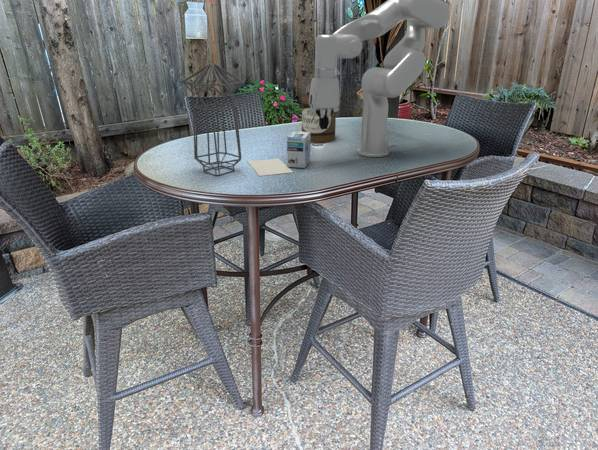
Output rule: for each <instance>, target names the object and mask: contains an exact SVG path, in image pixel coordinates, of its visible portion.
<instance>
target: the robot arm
mask: <svg viewBox="0 0 598 450" xmlns="http://www.w3.org/2000/svg"><path fill="white" fill-rule="evenodd" d="M450 16H451V10H450V7H449V5H448V3H446V1H443V0H386V1H384V2H383V3H382V4H380V5H378V7H376V8H374V9H373V10H372V11H370V12H369V13H367V14H364V15H363V16H360V17H358V18H357V19H355V20H353V21H351V22H348V23H346V24H345V25H343V26H342V27H340V28H339V29H337V30H335V31H334V32H333V33H332V34H318V35H316V38H315V45H314V46H315V51H314V52H315V53H314V77H313V78H311V82H310V88H309V95H308V96H309V106H310V112H313V113H316V114H317V115H318V116H319V126H320V128H321V129H327V126H328V124H329V117H330V115H331V114H332V113H333V112H335V113H336V112H339V111H340V109H339V107H340V103H341V100H340V99H341V97H340V95H341V94H340V81H339V78H338V75H339V76H340V75H341V70H339V69H338V59H339V58H341V59H354V58H356V57H358V56H359V55H360V54H361V52H362V51H363V41H368V40H371V39H377V38H378V37H381V36H383V35H385V34H386V33H387V32H389V31H390V30H391V29H393V28H394V27H396V26H397V25H398V24H399V23H401V22H402V21H405V20H406V31H405V34H404V36H403V37H402V39H400V40H399V41H398V43H397V44H396V45H395V46H394V47H393V48H392V49H390V51H389V52H388V53H387V54H386V56H385V57H384V59H383V64H382V65H383V66H382V67H372V68H368V69H367V70H366V71H365V72H364V73H363V75H362V77H361V93H362V116H361V133H360V136H361V137H360V147H358V148H357V149H356V155H359V156H362V157H366V158H367V157H368V158H380V157H386V156H388V155H389V154H390V150H389V149H390V148H397V145H398V144H397V142H396V141H395V142H390V141H387V129H388V128H387V127H388V120H389V119H388V117H389V100H388V98H390V99H393V98H398V97H399V96H401V95H402V94H403V93H404V92H405V91H406V90H408V88H409V87H410V86H411V85H412V84H413V83H414V82H415V81H416V80H417V79H418V78H419V76H420V75H421V74H422V73H423V71H424V69H425V66H426V54H425V52H423V50H424V48H425V45H426V29H428V30H430V29H437V30H438V29H441V28H443V27H444V26H446V25H447V23H448V22H449V21H450ZM323 109H325V113H324V111H323Z"/></svg>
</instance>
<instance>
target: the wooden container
mask: <svg viewBox="0 0 598 450" xmlns="http://www.w3.org/2000/svg"><path fill="white" fill-rule="evenodd" d="M323 111H324V113H325V109H323ZM336 123H337V122H336V112H333V113H332V114H331V115H330V117H329V124H328V126H327V129H321V128H320V126H319V116H318V115H317V114H316V113H313V112H310V106H309V95H304V96H301V132H311V141H310V143H314V144H321V143H322V144H323V143H331V142H333V141H335V140H336Z"/></svg>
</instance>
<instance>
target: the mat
mask: <svg viewBox="0 0 598 450" xmlns="http://www.w3.org/2000/svg"><path fill="white" fill-rule="evenodd" d="M247 164H248V165H249V166H250V167H251V169H253V171H254V172H255V173H256V174H257V175H258V176H259V177H265V176H274V175H275V176H276V175H282V174H283V175H284V174H293V173H294V170H292V169H291V167H287V164H285V163H284V162H283V161H282V160H281V159H280V158H270V159H257V160H249V161H247Z"/></svg>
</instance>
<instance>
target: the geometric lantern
mask: <svg viewBox="0 0 598 450" xmlns="http://www.w3.org/2000/svg"><path fill="white" fill-rule="evenodd" d="M210 74H211V75H210ZM197 75H198V76H197ZM195 76H196V78H195V79H194V80H193V81H192V80H190V79H192V78H194V77H195ZM205 76H206V77H205ZM229 76H230V77H231V78H233V79H234V80H236V81H233V80H232V79H231V78H230V77H229ZM204 77H205V80H204V81H203V79H204ZM213 77H214V79H213ZM219 81H220V82H221V83H222V84H220V82H219ZM216 82H217V83H216ZM181 83H183V85H184V86H185V87H186V89H188V90H189V91H190V93H191V95H192V96H191V97H192V98H194V95H197V96H196V100H195V102H194V100H192V121H193V122H192V123H193V125H192V126H193V155H194V157H193V158H194V160H196V161H197V162H198V163H199V164H200V165H201V166H202V168H203V169H202V171H203V173H205V174H209V175H211V176H215V177H220V176H223V175H226V174H229V173H233V172H235V166H236V165H238V163H239V162H240V161H242V150H241V139H240V130H239V129H240V127H239V119H238V110H237V108H238V106H237V105H235V101H234V95H233V93H236V91H237V90H238V89H239V88H240V87H241V85H243V84H246V81H244V80H242V79H241V78H239V77H238V76H236V75H234V74H233V73H231V72H229V71H228V70H226V69H224V68H223V67H221V66H219V65H218V64H216V63H208V64H207V65H205V66H203V67H202V68H200V69H199V70H197V71H195V72H194V73H192V74H191V75H190V76H187V78H185V79H183V80H182V81H181ZM205 86H206V88H205V89H204V87H205ZM208 86H209V87H208ZM215 86H217V87H219V88H220V90H218V89H217V88H216V87H215ZM232 86H234V87H233V88H232ZM197 87H198V88H197ZM222 87H225V89H226V90H227V92H224V93H223V91H222V90H223V89H222ZM211 88H212V89H213V90H215V92H217V94H218V95H217V97H216V98H215V99H214V98H213V96H212V95H211V94H210V92H209V91H210V89H211ZM193 89H194V91H195V92H194V91H193ZM201 92H206V93H207V95H208V96H209V97H210V98H211V99H212V101H213V103H208V104H206V103H205V102H204V100H203V98H202V97H201V95H200V93H201ZM220 96H224V98H223V100H222V102H221V103H217V100H218V99H219V97H220ZM227 96H229V99H230V101H231V104H230V105H229V104H224V103H225V102H226V99H227ZM199 100H200V101H201V103H202V104H201V105H198V103H199ZM194 103H195V105H194ZM208 106H211V107H210V108H208ZM214 106H216V108H214V109H212V108H213V107H214ZM219 106H221V107H220V108H219ZM224 106H226V107H224ZM202 107H204V108H202ZM198 110H204V111H205V113H206V114H205V115H206V133H207V134H206V136H207V141H206V142H207V154H203V155H198ZM224 110H233V111H232V112H233V119H234V120H233V121H234V127H235V129H234V130H235V135H236V136H235V137H236V143H237V153H238V154H237V155H236V154H234V153H233V154H232V153H229V152H228V151H227V142H226V141H227V139H226V127H225V117H224V116H225V115H224ZM209 111H210V113H211V122H212V129H213V139H214V149H215V150H214V151H215V152H212V153H210V152H211V151H210V149H211V148H210V134H209V132H210V126H209ZM214 111H216V125H215V120H214ZM219 111H221V118H222V130H223V131H222V132H223V140H224V141H223V142H224V151H223V152H221V151H220V133H219V132H220V131H219V130H220V129H219V127H220V126H219V125H220V124H219V123H220V122H219ZM215 126H216V128H215ZM216 129H217V130H216ZM216 135H217V137H216ZM220 154H222V155H223V157H222V159H220ZM214 155H215V159H216V161H214V162H211V156H214ZM227 155H228V156H232V157H235V159H232V160H225V161H224V159H225V157H226V156H227ZM204 157H207V160H208V161H205V160H202V159H200V158H204ZM233 162H234V163H233ZM223 164H226V165H229V166H224V165H223ZM213 165H216V166H213ZM231 167H232V168H231ZM205 168H206V169H205ZM222 169H229V170H231V171H227V172H224V173H221V171H220V170H222ZM209 170H214V172H215V174H214V173H212V172H210V171H209ZM208 171H209V172H208ZM217 171H218V172H217ZM217 173H218V174H217Z"/></svg>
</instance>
